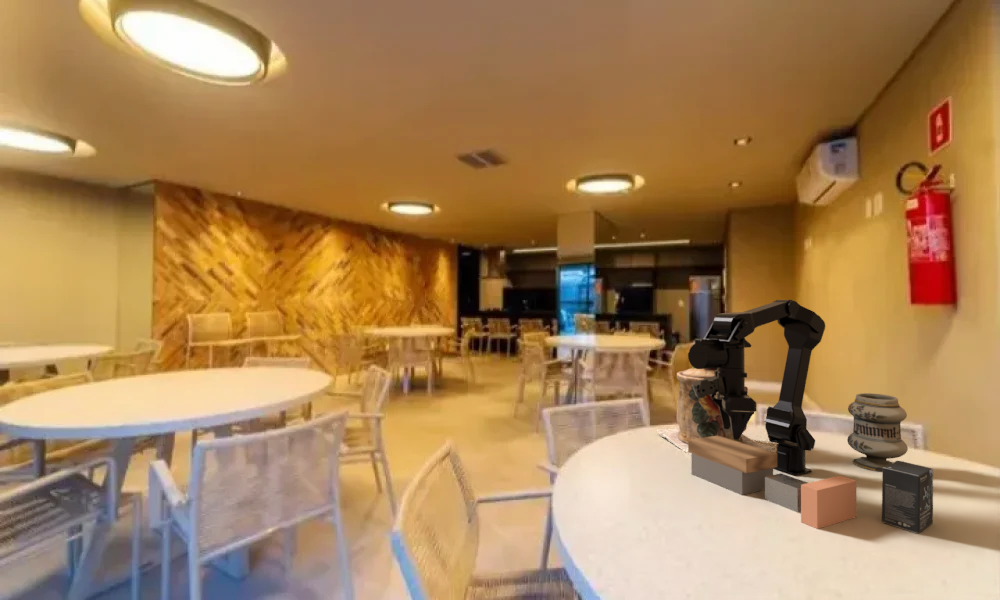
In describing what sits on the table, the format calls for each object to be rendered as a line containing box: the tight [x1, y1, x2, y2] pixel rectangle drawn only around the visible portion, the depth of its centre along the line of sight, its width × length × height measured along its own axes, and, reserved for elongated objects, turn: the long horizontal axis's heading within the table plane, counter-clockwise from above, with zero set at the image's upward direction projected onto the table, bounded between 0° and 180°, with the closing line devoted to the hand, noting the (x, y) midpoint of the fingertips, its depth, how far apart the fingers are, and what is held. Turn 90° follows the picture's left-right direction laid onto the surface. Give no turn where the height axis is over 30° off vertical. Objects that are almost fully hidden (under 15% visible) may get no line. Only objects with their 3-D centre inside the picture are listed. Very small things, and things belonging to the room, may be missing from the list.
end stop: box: [800, 475, 857, 530], centre depth 91 cm, size 12×3×7 cm, turn 114°
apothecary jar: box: [846, 392, 909, 472], centre depth 122 cm, size 12×12×18 cm
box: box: [881, 460, 934, 534], centre depth 90 cm, size 8×6×11 cm
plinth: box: [691, 454, 774, 496], centre depth 111 cm, size 10×14×5 cm
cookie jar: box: [656, 366, 775, 457], centre depth 141 cm, size 25×25×32 cm
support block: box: [764, 473, 809, 514], centre depth 98 cm, size 5×7×5 cm
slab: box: [688, 436, 777, 473], centre depth 111 cm, size 10×16×3 cm, turn 24°
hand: (731, 433), depth 111 cm, fingers open, 9 cm apart
